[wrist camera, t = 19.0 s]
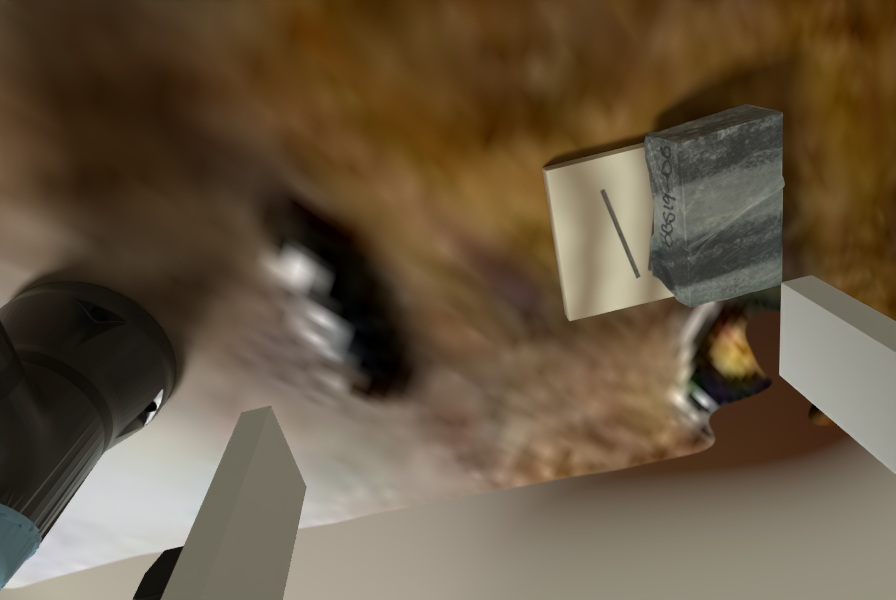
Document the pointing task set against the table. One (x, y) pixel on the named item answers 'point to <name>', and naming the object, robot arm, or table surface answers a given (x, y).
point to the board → (603, 231)
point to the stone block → (717, 204)
